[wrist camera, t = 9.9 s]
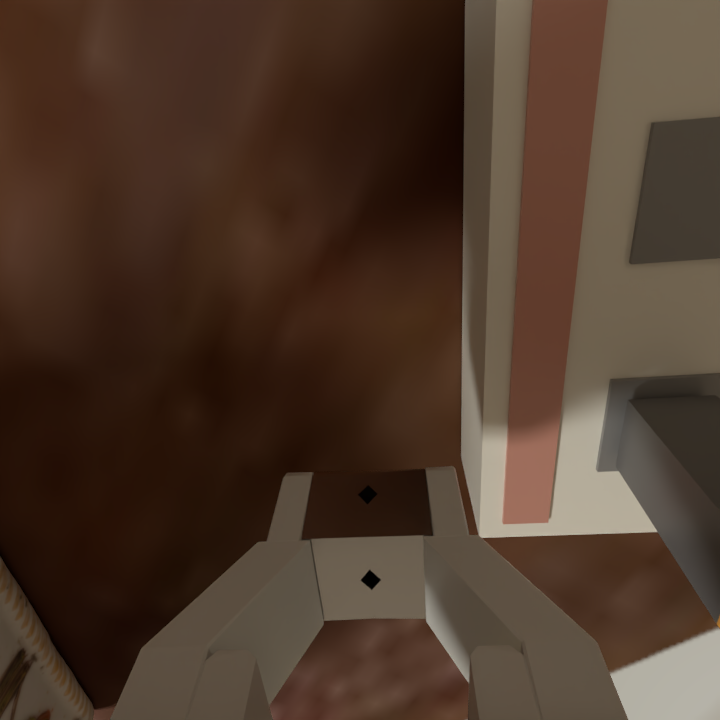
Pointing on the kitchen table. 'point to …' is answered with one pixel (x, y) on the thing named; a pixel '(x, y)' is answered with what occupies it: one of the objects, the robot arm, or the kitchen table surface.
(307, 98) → the kitchen table surface
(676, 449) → the breaker handle
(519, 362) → the breaker box
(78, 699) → the decorative jar
